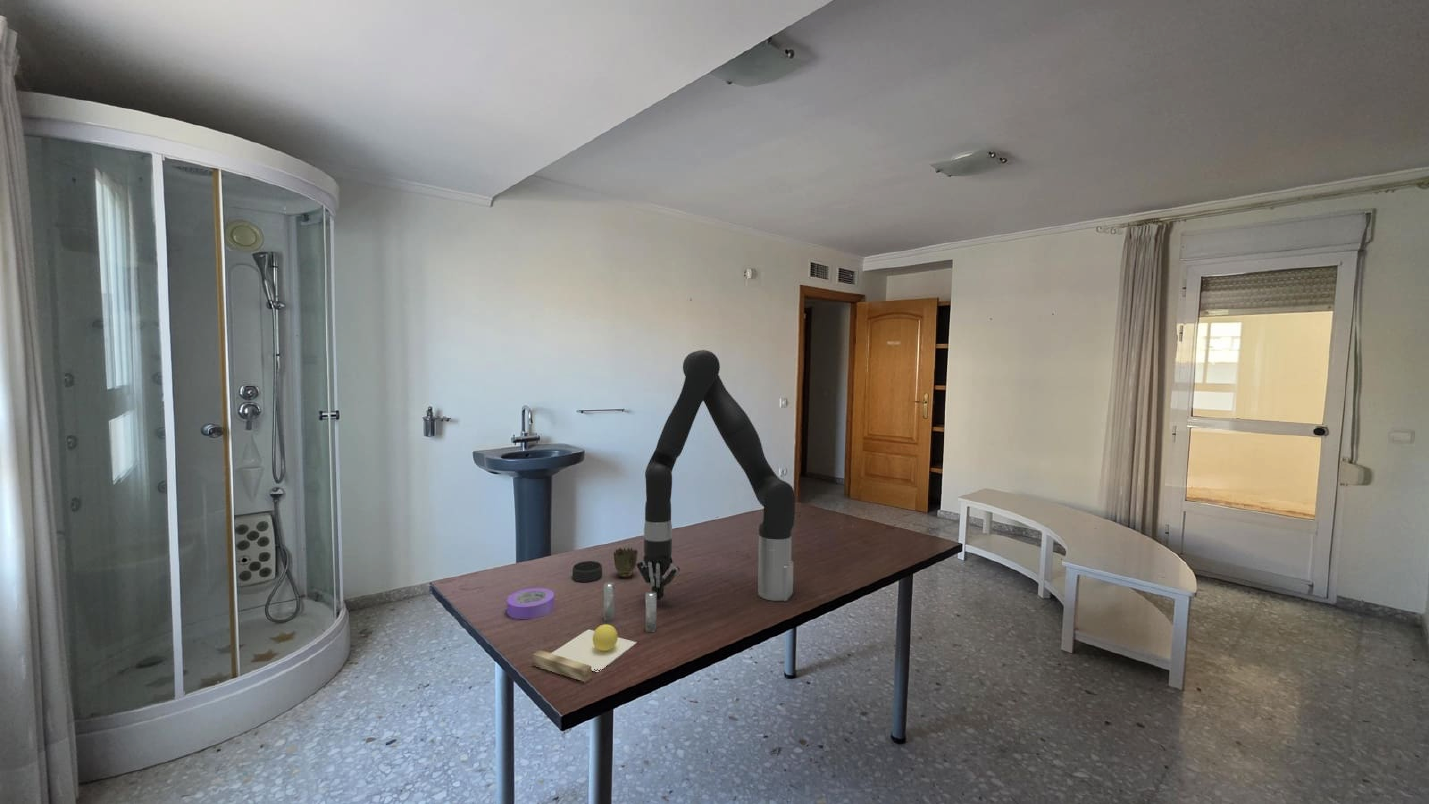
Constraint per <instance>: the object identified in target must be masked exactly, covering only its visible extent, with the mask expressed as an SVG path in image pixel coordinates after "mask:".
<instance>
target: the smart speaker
mask: <svg viewBox="0 0 1429 804" xmlns="http://www.w3.org/2000/svg"><path fill="white" fill-rule="evenodd" d="M602 575H603V566H602V564H601V562H599V561H594V560H593V561H592V560H591V561H589V560H588V561H587V560H586V561H580V562H578V563H575V564H574V566H572V578H573V580H575V581H577V582H579V583H589V582H595V581H597V580H599V579H600V578H601V577H602Z"/></svg>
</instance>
